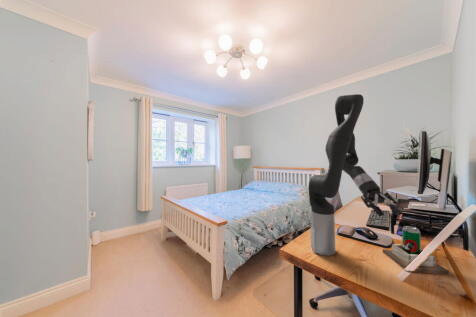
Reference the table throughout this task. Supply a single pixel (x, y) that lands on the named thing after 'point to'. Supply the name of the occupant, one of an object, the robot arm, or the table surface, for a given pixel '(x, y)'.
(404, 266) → the holder
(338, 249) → the table surface
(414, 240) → the soda can
